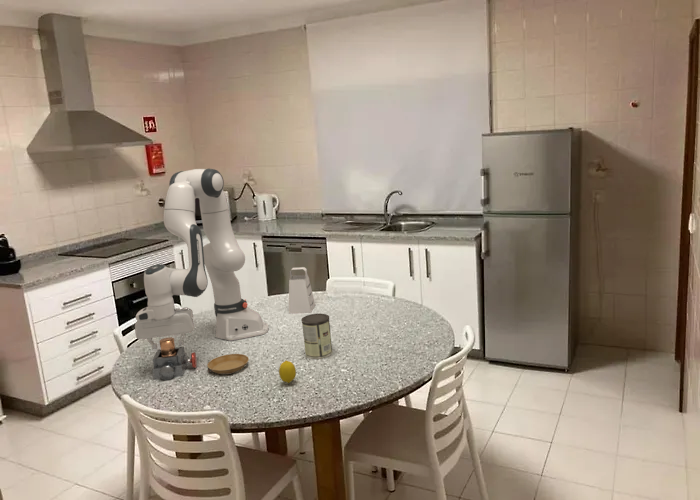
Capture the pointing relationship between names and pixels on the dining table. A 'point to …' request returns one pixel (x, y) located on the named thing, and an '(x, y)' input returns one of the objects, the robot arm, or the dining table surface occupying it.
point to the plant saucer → (228, 363)
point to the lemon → (287, 371)
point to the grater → (300, 293)
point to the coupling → (167, 347)
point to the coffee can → (317, 336)
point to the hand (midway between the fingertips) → (168, 346)
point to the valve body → (172, 364)
